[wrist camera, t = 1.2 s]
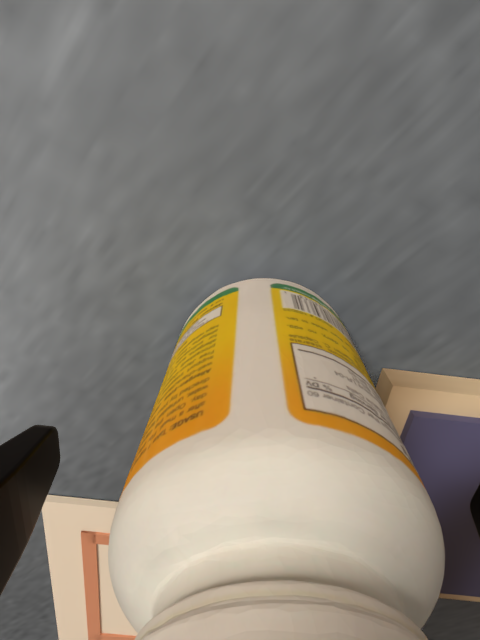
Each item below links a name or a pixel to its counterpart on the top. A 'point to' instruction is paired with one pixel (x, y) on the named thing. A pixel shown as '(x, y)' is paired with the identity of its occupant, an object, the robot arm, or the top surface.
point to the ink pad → (443, 461)
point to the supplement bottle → (273, 487)
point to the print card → (83, 569)
